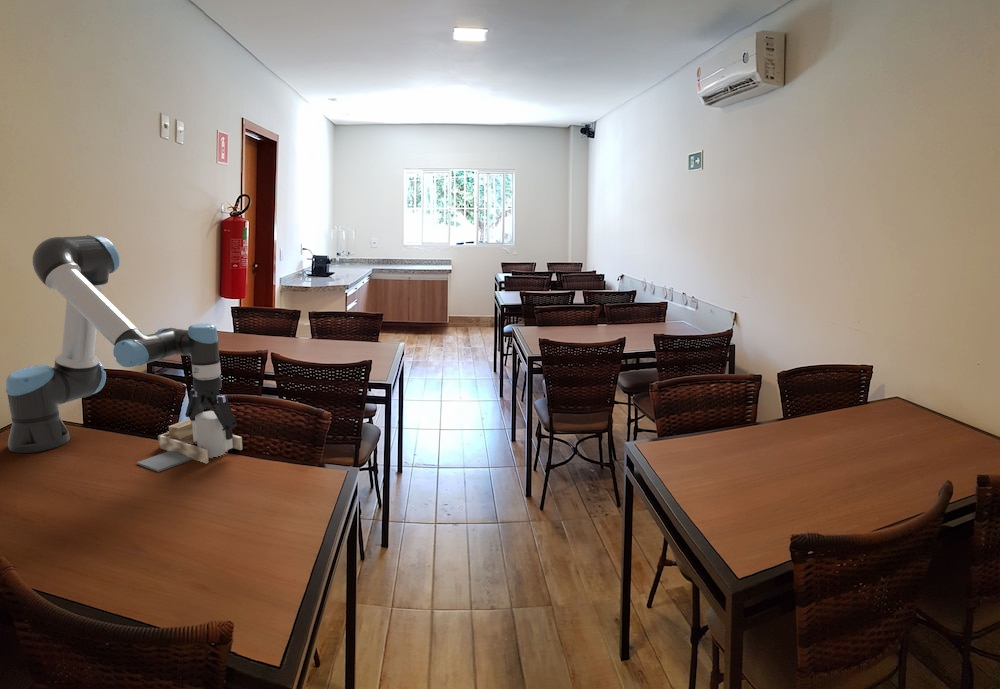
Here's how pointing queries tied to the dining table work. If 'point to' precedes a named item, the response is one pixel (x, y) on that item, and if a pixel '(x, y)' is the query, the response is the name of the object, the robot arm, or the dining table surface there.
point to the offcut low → (186, 439)
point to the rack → (191, 447)
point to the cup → (209, 433)
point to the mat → (164, 461)
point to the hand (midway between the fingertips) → (212, 444)
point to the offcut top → (181, 429)
